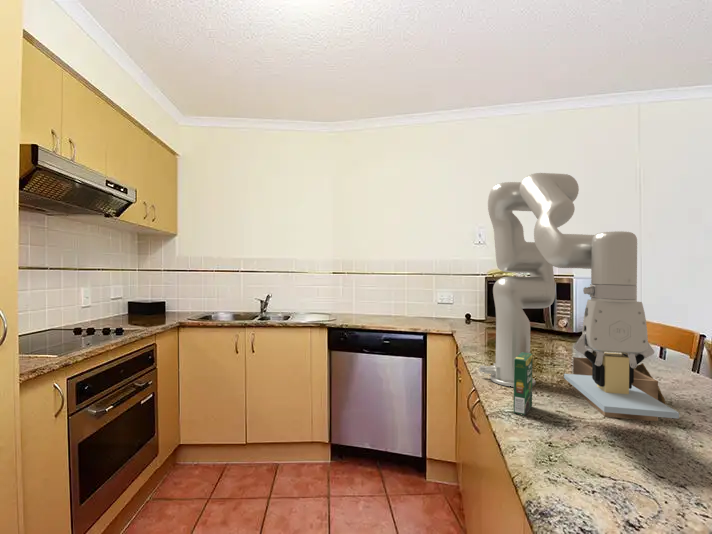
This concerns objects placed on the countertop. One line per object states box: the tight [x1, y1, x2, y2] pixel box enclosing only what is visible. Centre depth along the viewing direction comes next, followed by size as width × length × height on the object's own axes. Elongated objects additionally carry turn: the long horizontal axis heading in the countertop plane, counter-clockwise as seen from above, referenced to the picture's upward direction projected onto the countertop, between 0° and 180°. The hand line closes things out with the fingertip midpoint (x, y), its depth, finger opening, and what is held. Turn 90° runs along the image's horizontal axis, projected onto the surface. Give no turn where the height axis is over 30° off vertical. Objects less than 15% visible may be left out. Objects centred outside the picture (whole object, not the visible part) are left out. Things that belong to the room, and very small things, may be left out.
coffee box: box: [513, 352, 534, 416], centre depth 88 cm, size 8×3×13 cm, turn 144°
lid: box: [563, 352, 680, 419], centre depth 74 cm, size 11×21×8 cm, turn 167°
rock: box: [634, 362, 667, 405], centre depth 98 cm, size 11×9×10 cm
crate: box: [572, 356, 659, 422], centre depth 94 cm, size 11×21×9 cm, turn 167°
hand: (612, 384), depth 74 cm, fingers closed on lid, 4 cm apart
